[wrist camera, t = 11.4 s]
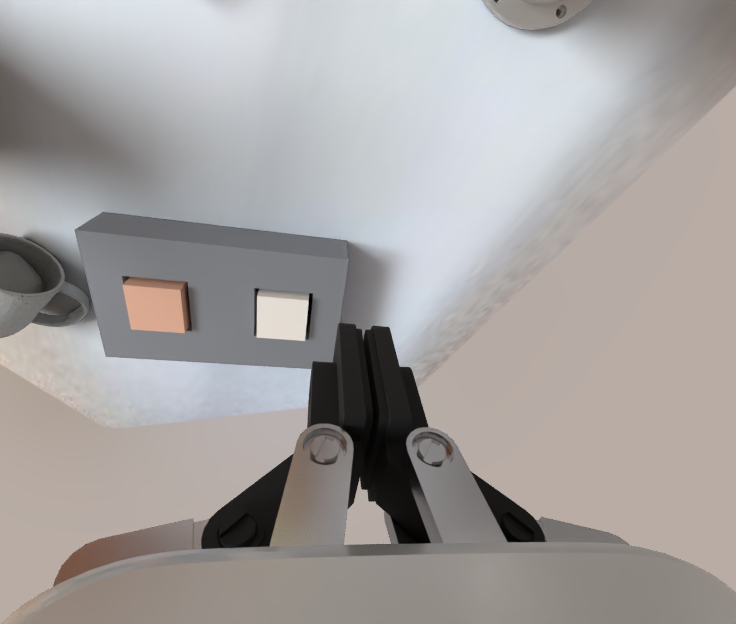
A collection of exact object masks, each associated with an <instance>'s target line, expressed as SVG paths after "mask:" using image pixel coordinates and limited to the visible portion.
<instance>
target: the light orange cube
mask: <svg viewBox="0 0 736 624" xmlns="http://www.w3.org/2000/svg"><path fill="white" fill-rule="evenodd" d="M123 290H124V296H125V301H126V306H127V311H128V316H129V321H130V326H131V329H132V330H146V331H160V332H174V333H185V332H186V330H187V328H188V327H189V325H190V323H191V313H190V303H189V292H188V282H183V281H172V280H161V279H151V278H140V277H129V279H128V280H127V281H126V282H125V283H124V284H123Z"/></svg>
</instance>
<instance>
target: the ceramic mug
mask: <svg viewBox="0 0 736 624" xmlns="http://www.w3.org/2000/svg"><path fill="white" fill-rule="evenodd" d="M56 293H64V294H66V295H68V296H69V297H71V298H73V299H75V300H76V301H78V302H79V303H80V304H81V306H80V307H79V308H78V309H76V310H75V311H73V312H70V314H68V315H49V314H44V313H40V311H41V310H42V309H43V308H44V307H45V306H46V305H47V304H48V302H49V301H50V300H51V299H52V298H53V297H54V296H55V295H56ZM88 310H89V299H88V297H87V295H86V294H85V292H84V291H83V290H81V289H80V288H78V287H76V286H74V285H72V284H70V283H68V282H66V281H65V274H64V270H63V268H62V266H61V264H60V263H59V261H58V260H57V259H56V258H55V257H54V256H53V255H52V254H51V253H49V252H48V251H47V250H45V249H44V248H42V247H41V246H39V245H37V244H35V243H33V242H31V241H29V240H26V239H24V238H21V237H17V236H13V235H9V234H3V233H0V338H2V337H7V336H10V335H13V334H15V333H17V332H19V331H20V330H22V329H23V328H25V327H26V326H27V325H28V324H30V323H35V324H39V325H44V326H52V327H62V326H68V325H72V324H75V323H77V322H79V321H81V320H82V319H83V318H84V317H85V316H86V315H87V313H88Z"/></svg>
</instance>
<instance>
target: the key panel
mask: <svg viewBox="0 0 736 624" xmlns="http://www.w3.org/2000/svg"><path fill="white" fill-rule="evenodd" d="M75 234H76V238H77V242H78V246H79V250H80V254H81V258H82V262H83V266H84V270H85V274H86V278H87V282H88V286H89V290H90V294H91V298H92V302H93V307H94V311H95V315H96V319H97V323H98V327H99V331H100V335H101V339H102V343H103V347H104V351H105V355H106V357H120V358H137V359H154V360H170V361H187V362H204V363H220V364H237V365H254V366H271V367H287V368H304V369H312V362H313V361H318V362H333V356H334V349H335V342H336V335H337V328H338V324H339V323H340V318H341V312H342V305H343V298H344V291H345V284H346V277H347V271H348V264H349V255H348V248H347V241H345V240H337V239H328V238H320V237H311V236H303V235H294V234H285V233H277V232H268V231H260V230H251V229H243V228H234V227H226V226H217V225H208V224H200V223H191V222H183V221H174V220H166V219H157V218H149V217H140V216H132V215H123V214H114V213H106V212H102V213H101V214H99V215H98V216H96V217H94V218H93V219H91V220H90V221H88V222H86V223H85V224H83V225H82V226H80V227H79V228H77V229H75ZM129 277H140V278H151V279H161V280H172V281H183V282H188V292H189V303H190V313H191V323H190V325H189V327H188V328H187V330H186V332H185V333H174V332H160V331H146V330H132V329H131V326H130V321H129V316H128V311H127V306H126V301H125V296H124V290H123V284H124V283H125V282H126V281H127V280H128V279H129ZM259 289H270V290H280V291H291V292H302V293H312V302H311V312H310V315H307V325H306V336H305V341H297V340H284V339H270V338H257V295H258V291H259Z"/></svg>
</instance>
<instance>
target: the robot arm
mask: <svg viewBox="0 0 736 624" xmlns="http://www.w3.org/2000/svg"><path fill="white" fill-rule="evenodd" d="M592 1H593V0H497V2H495V1H494V0H483V2H484V4H485V6H486V7H487V8H488V9H489V10H490V11H491V12H492V13H493V15H494V16H495V17H497V18H498V19H500V20H501V21H503V22H504V23H505V24H507V25H510V26H513V27H515V28H518V29H526V30H537V29H544V28H548V27H552V26H555V25H559V24H561V23H563V22H565V21H567V20H569V19H571V18H573V17H574V16H575V15H577V14H578V13H579V12H581V11H582V10H583V9H585V8H586V7H587V6H588V5H589V4H590V3H591V2H592ZM556 10H558V15H557V16H556ZM359 478H360V481H361V488H362V489H365V490H368V500H369V501H376V504H377V505H379V506H380V507H381V508H382V509H383V510H384V511H385V512H384V519H385V524H386V527H387V531H388V534H389V538H390V542H391V544H369V545H367V544H366V545H344V538H345V529H346V520H347V510H348V508H349V507H350V506H351V505H352V504H353V503H354V498H355V494H356V490H357V486H358V482H359ZM2 624H736V592H735V591H733V590H732V589H731V588H730V587H729V586H727V584H725V583H724V582H722V581H721V580H719V579H718V578H717V577H715V576H714V575H712V574H710V573H709V572H706V571H705V570H703V569H701V568H699V567H697V566H695V565H693V564H690V563H688V562H686V561H683V560H681V559H678V558H675V557H673V556H670V555H667V554H665V553H661V552H657V551H653V550H649V549H645V548H641V547H636V546H630V545H629V544H628V543H627V542H625V541H624V540H623V539H621V538H620V537H618V536H616V535H613V534H611V533H608V532H603V531H600V530H595V529H591V528H587V527H582V526H578V525H574V524H570V523H565V522H561V521H557V520H553V519H548V518H544V517H541V518H540V519H539V520H535V519H534V517H532V516H531V515H530V514H529V513H528V512H527V511H526V510H524V509H523V508H521V507H520V506H519V505H517V504H516V503H515V502H513V501H512V500H510V499H509V498H508V497H506V496H505V495H503V494H502V493H500V492H499V491H498V490H496V489H495V488H493V487H492V486H491V485H489V484H488V483H486V482H485V481H484V480H482V479H481V478H479V477H478V476H477V475H475V474H474V473H472V472H471V471H470V469H469V467H468V466H467V464H466V462H465V460H464V458H463V456H462V454H461V452H460V450H459V448H458V446H457V445H456V444H455V442H454V441H453V439H451V438H450V437H449V436H448V435H447V434H445V433H444V432H442V431H440V430H438V429H434V428H429V427H428V424H427V420H426V417H425V413H424V410H423V407H422V404H421V400H420V396H419V393H418V390H417V386H416V383H415V379H414V376H413V372H412V370H411V368H410V367H399V363H398V359H397V355H396V351H395V348H394V344H393V340H392V336H391V332H390V328H389V327H381V326H372V328H371V330H365V334H364V339H363V337H362V330H361V329H356V325H355V324H344V323H339V324H338V328H337V335H336V342H335V349H334V356H333V362H318V361H313V362H312V370H311V379H310V390H309V404H308V426H307V429H305V430H304V432H302V433H301V434H300V436H299V438H298V440H297V443H296V447H295V451H294V454H292V455H291V456H290V457H288V458H287V459H286V460H284V461H283V462H282V463H281V464H279V465H278V466H277V467H275V468H274V469H273V470H271V471H270V472H269V473H267V474H266V475H265V476H263V477H262V478H261V479H259V480H258V481H257V482H255V483H254V484H253V485H251V486H250V487H249V488H247V489H246V490H245V491H243V492H242V493H241V494H240V495H238V496H237V497H236V498H234V499H233V500H232V501H230V502H229V503H228V504H226V505H225V506H224V507H222V508H221V509H220V510H218V511H217V512H216V513H215V514H214V516H212V517H211V518H210V519H207V520H203V521H198V522H194V521H193V519H188V520H183V521H179V522H174V523H169V524H165V525H160V526H156V527H151V528H147V529H143V530H138V531H133V532H129V533H124V534H120V535H115V536H111V537H106V538H102V539H98V540H96V541H93V542H90V543H88V544H85V545H84V546H83V547H81V548H80V549H78V550H77V551H75V552H74V553H73V554H72V555H71V556H70V557H69V558H68V559H67V560H66V562H65V563H64V564H63V565H62V566H61V568H60V570H59V573H58V575H57V577H56V579H55V582H54V586H53V587H52V588H50V589H48V590H46V591H44V592H42V593H41V594H39V595H38V596H36V597H34V598H33V599H31V600H30V601H28V602H27V603H25V604H23V605H22V606H21V607H20V608H19V609H17V610H16V611H14V612H13V613H12V614H11V615H10V616H9V617H8V618H7V619H6V620H5V621H4V622H2Z"/></svg>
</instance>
